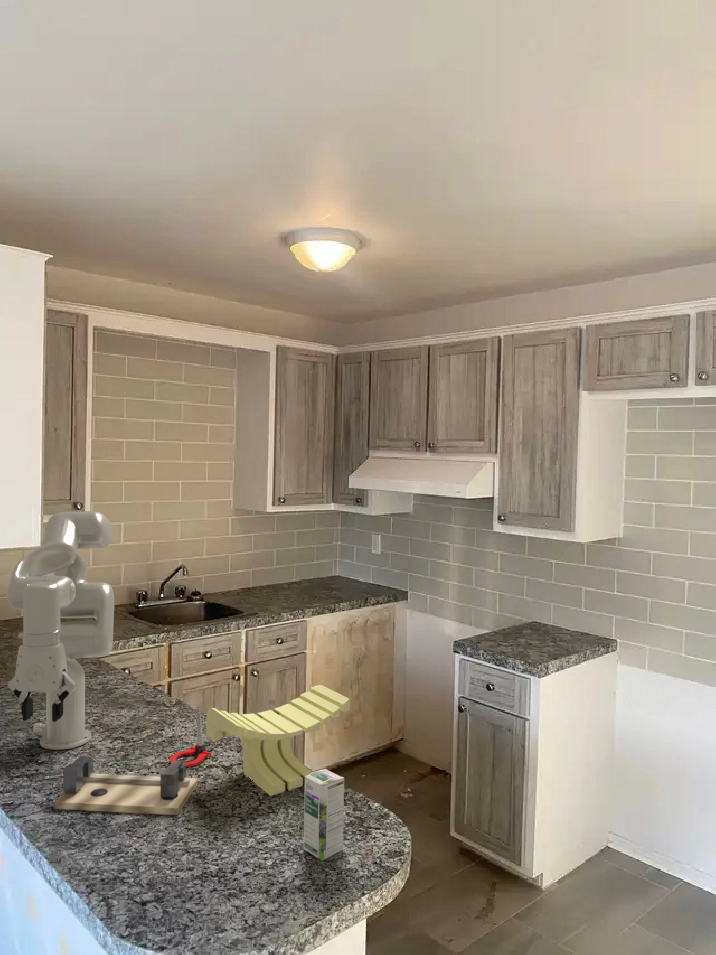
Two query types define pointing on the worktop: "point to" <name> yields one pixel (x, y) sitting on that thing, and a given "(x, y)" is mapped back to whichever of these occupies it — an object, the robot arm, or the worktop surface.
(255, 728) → the slatted curved stool
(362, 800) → the worktop surface
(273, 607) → the worktop surface
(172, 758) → the tow hook
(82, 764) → the leg
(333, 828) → the syrup box
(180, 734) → the worktop surface
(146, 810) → the bolt plate
